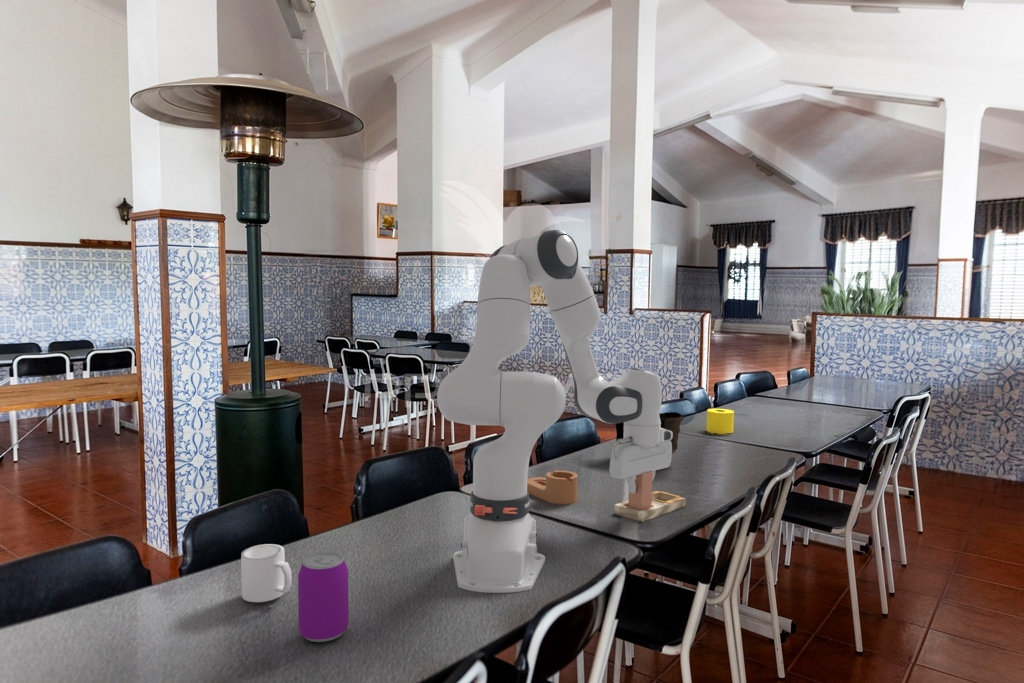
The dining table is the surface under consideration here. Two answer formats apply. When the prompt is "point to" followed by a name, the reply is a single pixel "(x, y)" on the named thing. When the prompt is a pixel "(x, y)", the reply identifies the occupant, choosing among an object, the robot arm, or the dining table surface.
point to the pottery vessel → (667, 422)
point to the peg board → (660, 506)
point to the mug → (264, 573)
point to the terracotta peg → (642, 492)
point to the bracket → (555, 487)
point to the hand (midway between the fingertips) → (640, 490)
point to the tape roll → (720, 421)
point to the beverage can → (323, 596)
